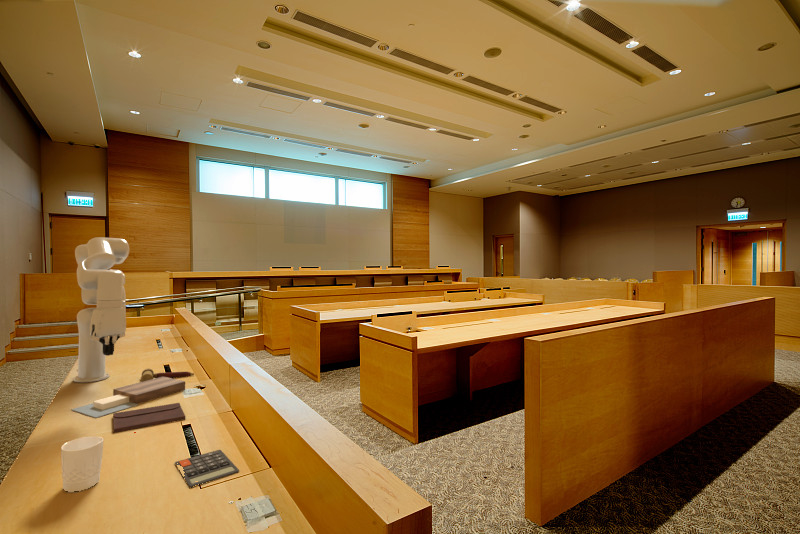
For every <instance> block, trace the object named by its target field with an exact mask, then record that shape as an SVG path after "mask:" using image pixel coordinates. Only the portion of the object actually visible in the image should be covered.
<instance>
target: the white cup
mask: <svg viewBox="0 0 800 534" xmlns="http://www.w3.org/2000/svg"><path fill="white" fill-rule="evenodd" d="M103 452H104V438H103V437H102V436H100V435H99V436H98V435H90V436H89V435H88V436H82V437H78V438H75V439H72V440H69V441H67V442H65V443H64V444H62V445H61V447H60V453H61V454H60V455H61V456H60V457H61V459H60V460H61V477H62V490H63V489H64V490H65V491H68V492H67V493H75V492H74V491H79V492H82V491H81V490H83V491H85V490H84V489H86V490H89V489H91V488H92V487H91V486H93V487H94V485H95V484H96V483H97V482H98V483H99V482H100V480H101V479H100V478H101V470H102V460H103ZM98 483H97V484H98ZM97 484H96V485H97ZM96 485H95V486H96ZM90 487H91V488H90ZM88 488H89V489H88ZM64 490H63V491H64ZM65 491H64V492H65Z"/></svg>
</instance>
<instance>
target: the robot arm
mask: <svg viewBox="0 0 800 534" xmlns="http://www.w3.org/2000/svg"><path fill="white" fill-rule="evenodd" d="M129 254H130V245H129V243H128V241H127V240H125V239H123V238H119V237H118V238H117V237H104V236H103V237H101V236H100V237H98V236H97V237H93V238H91V239H89V240H88V242H87V243H85V244H80V245H77V246H76V247H75V249H74V255H75V261H76V264H77V268H76V280H77V284H78V287H80V288H81V301H82V303H83V304H85V305H89V306H90V305H93V306H95V305H96V307H90V308H89V307H87V308H84V309H83V308H82V309H81V310H79V312H77V314H76V323H77V327H78V328H77V330H78V358H77V359H78V360H77V361H78V363H77V369H76V372H77V375H76V376H74V377H73V380H72V381H73V382H74V383H80V384H81V383H94V382H99V381H103V380H106V379H108V378H109V377H110V373H109V372H106V356H107V357H108V356H113V355H114V353H115V344H116V343H117V341H118V340H119V339H122V338H123V337H125V336H126V331H127V318H126V317H127V316H126V314H127V311H126V309H127V308H126V307H127V305H126V304H127V303H126V298H127V296H126V289H125V286H124V285H125V284H126V275H125V274H124V272H123V271H122V270H119V269H111V268H112V267H114V266H115V265H120V264H123V263H124V262H125V261H126V259H127V258H128V257H129Z"/></svg>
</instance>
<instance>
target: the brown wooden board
mask: <svg viewBox="0 0 800 534" xmlns="http://www.w3.org/2000/svg"><path fill="white" fill-rule="evenodd" d="M112 390H113V391H112V392H113V393H112V396H115V395H118V394H121V395H125V396H129V402H131V403H135V404H138V405H139V404H141V403H145V402H149V401H153V400H155V399H159V398H162V397H165V396H170V395H172V394H176V393H178V392H183V391H185V390H186V381H185V380H181V379H176V378H168V377H159V378H153V379H152V380H148V381H144V382H141V381H140V382H136V383H132V384H129V385H124V386H120V387H116V388H113V389H112Z"/></svg>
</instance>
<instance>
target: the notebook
mask: <svg viewBox="0 0 800 534" xmlns="http://www.w3.org/2000/svg"><path fill="white" fill-rule="evenodd" d="M112 414H113V416H112V417H113V418H112V419H113V422H112V423H113V433H114V434H116V433H120V432H121V433H122V432H126V431H131V430H136V429H141V428H146V427H152V426H157V425H163V424H169V423H174V421H175V422H180V421H184V420H186V415H185V412H184V410H183V409H182V406H181V404H180V402H176V403H175V402H174V403H170V404H164V405H163V404H162V405H156V406H151V407H144V408H138V409H132V410H126V411H121V412H120V411H118V412H114V413H112Z"/></svg>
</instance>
